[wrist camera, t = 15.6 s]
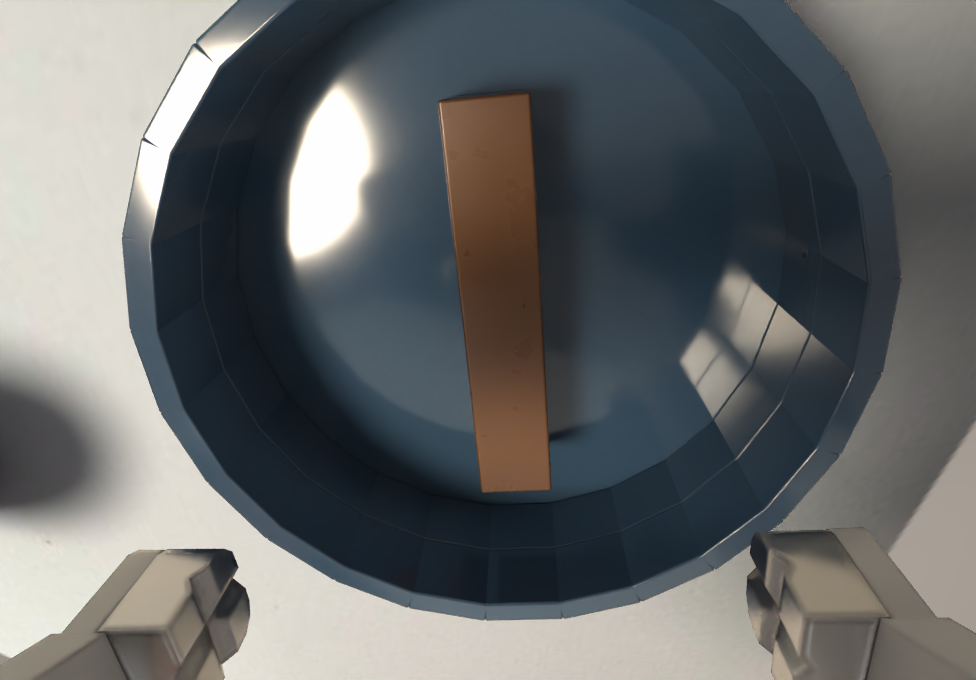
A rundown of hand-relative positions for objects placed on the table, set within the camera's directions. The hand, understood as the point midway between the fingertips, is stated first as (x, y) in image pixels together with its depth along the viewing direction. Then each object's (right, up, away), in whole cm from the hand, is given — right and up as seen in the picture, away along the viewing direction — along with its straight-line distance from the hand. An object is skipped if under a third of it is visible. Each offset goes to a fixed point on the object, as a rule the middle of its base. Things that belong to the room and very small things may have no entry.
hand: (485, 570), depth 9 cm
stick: (+1, +5, +12) cm, 13 cm away
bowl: (+1, +6, +12) cm, 14 cm away
